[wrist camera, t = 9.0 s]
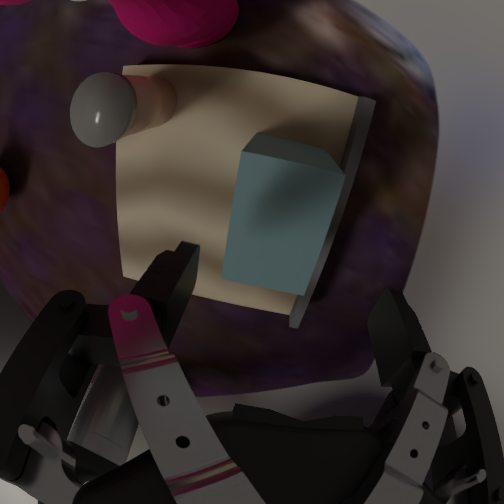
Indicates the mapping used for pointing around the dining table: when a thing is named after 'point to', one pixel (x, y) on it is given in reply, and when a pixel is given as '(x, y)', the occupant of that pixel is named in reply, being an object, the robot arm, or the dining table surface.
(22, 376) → the robot arm
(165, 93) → the spice jar
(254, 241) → the tea box
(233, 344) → the dining table surface
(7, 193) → the clementine
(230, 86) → the shelf board
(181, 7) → the pepper mill
